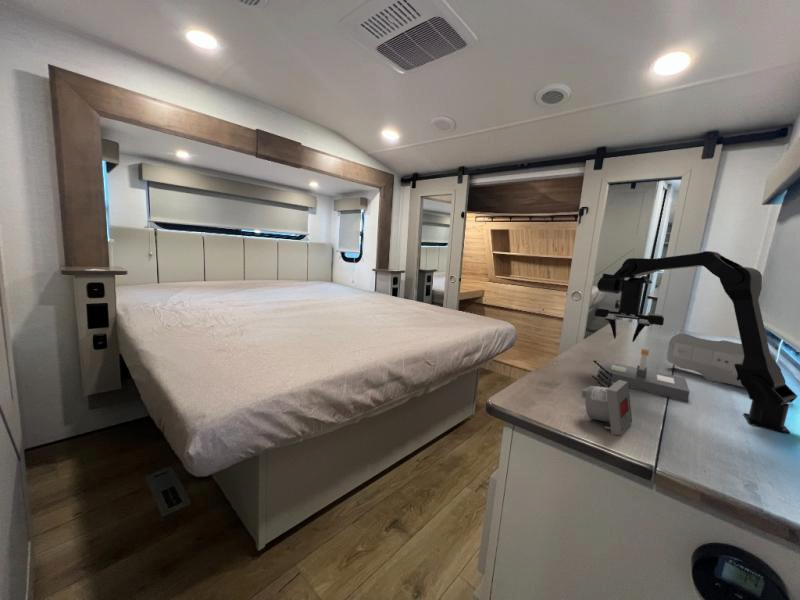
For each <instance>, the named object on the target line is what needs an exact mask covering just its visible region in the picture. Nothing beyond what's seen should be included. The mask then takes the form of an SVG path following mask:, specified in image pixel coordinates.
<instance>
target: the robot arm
mask: <svg viewBox="0 0 800 600" xmlns="http://www.w3.org/2000/svg"><path fill="white" fill-rule="evenodd" d="M697 267H704V268H706V269H707V270H708V271H709V272H710V273H711V275H714V276H715V277H717V278H718V279H719V281H720V284H721V286H722V288H723V291H724V293H726V295H727V297H728V298H729V299H730V300H731V302H732V304H733V309H734V313H735V318H736V324H737V328H738V333H739V337H740V344H742V348H743V353H744V359H743V362H742V363H737V364H734V365H735V369H736V371H737V380H740V381H741V384H742V386H741V387H743V388H744V389H746V390H747V393H748V397H749V399H750V400H751V404H750V409H749V413H746V412H743V416H744V418H745V419H746V422H747V423H748V424H749V425H754V426H757V427H761V428H764V429H768V430H774V431H777V432H781V433H784V434H789V435H790V434H791V431H790V430H789V429H788V428H787V427H786V425H785V423H786V419H787V415H788V411H789V408H790V405H789V404H791V403H793V402H794V401H795V400H796V399H797V398H798V395H797V394H796V393H795V391H793V390H792V389H791V388H790V387H789V386H788V385H787V384H786V378H785V376H784V375H783V372H782V370H780V368H781V367H780V366H779V364H778V363H777V361H776V360H775V361H776V362H775V361H774V360H773V358H772V357H771V355H770V353H771V352H770V347H769V343H768V338H767V334H766V330H765V325H764V319H763V315H762V311H761V306H760V303H759V302H760V301H759V299H760V295H761V293H762V288H763V283H762V282H763V275H762V272H760V271H759V270H758V269H756V268H754V267H749V266H743V265H741V264H740V263H738V262H736V261H733V260H731V259H729V258H727V257H726V256H723V255H721V253H719V252H717V251H710V250H707V251H705V250H704V251H701V252H697V253H696V252H695V253H689V254H681V255H674V256H672V255H671V256H666V257H658V258H638V257H637V258H635V257H633V258H632V257H631V258H629V257H628V258H627V259H625V261H623V263H622V264H621V266H620V267H619V269H618V270H617V271H615V272H614V274H611V273H602V276H601V277H600V278H599V280H598V282H597V286H596V287H597V290H598V291H599V292H601V293H608V294H615V295H616V294H617V295H618V294H620V298H619V299H616V300H615V303H614V310H611V308H609V307H600V306H599V307H597V308H596V309H595V311H594V317H598V318H605V321H608V323H609V325H610V329H611V331H612V335H613V339H616V338H617V319H618V318H623V319H632V320H637V321H638V322H637V325H636V328H635V331H634V334H633V336H632V343H634V342H635V341H636V339H637V337H638V336H639V334H640V333H641V331H642V330H643V329H644V328H645V327H650V325H655V326H664V321H665V317H664V316H663V314H656V313H648V315H647V314H640V311H641V304H642V303H641V302H642V297H643V291H644V290H643V289H644V286H645V284H652V283H653V281H652V280H650V278H648V276H647V275H651V274H653V273H657V272H660V271H666V270H677V269H686V268H687V269H688V268H697ZM615 310H617V311H615ZM776 363H777V364H776ZM779 367H780V368H779Z"/></svg>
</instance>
